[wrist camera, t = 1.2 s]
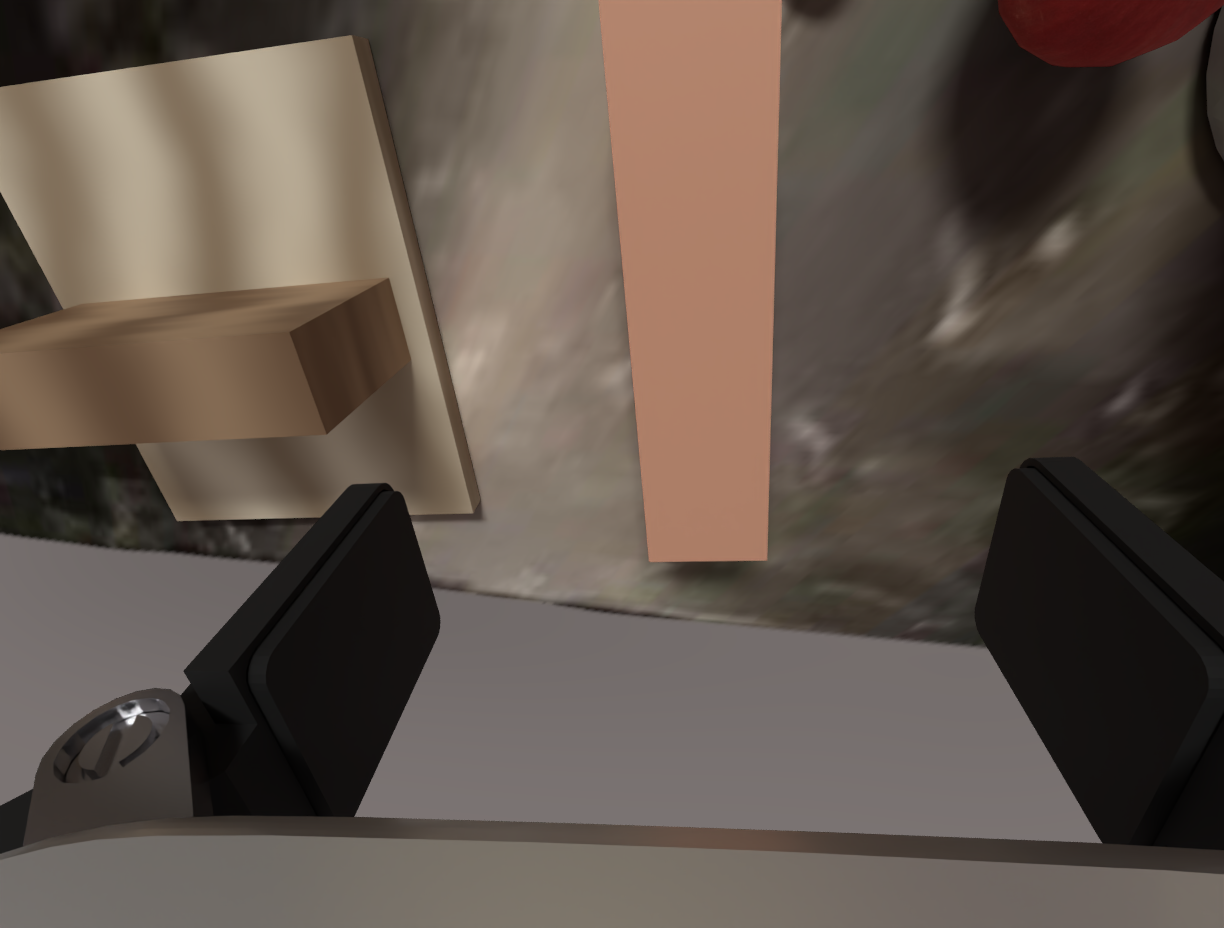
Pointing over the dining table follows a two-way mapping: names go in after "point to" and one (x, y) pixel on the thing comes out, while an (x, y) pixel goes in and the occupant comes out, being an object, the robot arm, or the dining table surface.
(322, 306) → the stand
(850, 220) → the dining table surface
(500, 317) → the dining table surface
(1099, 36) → the onion
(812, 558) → the dining table surface
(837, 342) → the dining table surface
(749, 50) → the beam
